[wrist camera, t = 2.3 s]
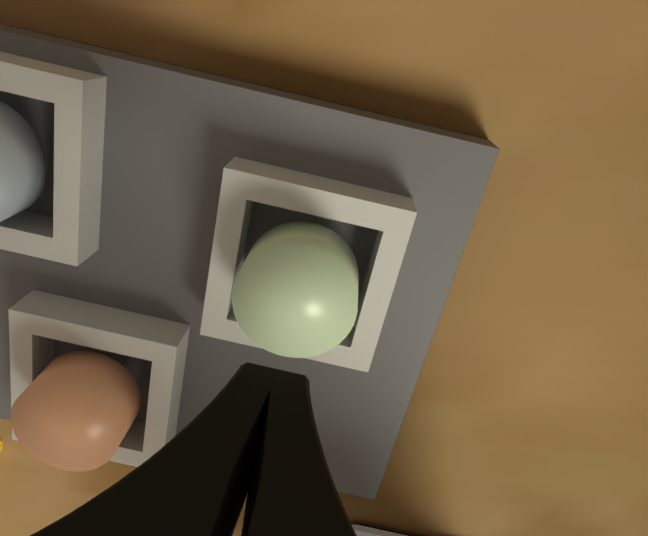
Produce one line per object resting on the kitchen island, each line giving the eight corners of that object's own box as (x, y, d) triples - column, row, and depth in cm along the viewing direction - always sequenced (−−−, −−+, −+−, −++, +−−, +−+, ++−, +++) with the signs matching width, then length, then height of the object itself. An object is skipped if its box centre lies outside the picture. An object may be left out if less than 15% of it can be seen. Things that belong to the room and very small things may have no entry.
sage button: (343, 334, 18) (341, 369, 16) (238, 310, 18) (223, 342, 16) (371, 236, 16) (372, 261, 15) (256, 209, 16) (241, 231, 14)
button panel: (374, 473, 24) (375, 530, 21) (-40, 381, 23) (-93, 428, 21) (489, 139, 18) (511, 159, 15) (-68, 7, 17) (-150, 2, 14)
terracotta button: (137, 440, 20) (114, 481, 18) (43, 420, 20) (11, 458, 18) (145, 363, 19) (121, 398, 17) (44, 340, 19) (9, 373, 17)
